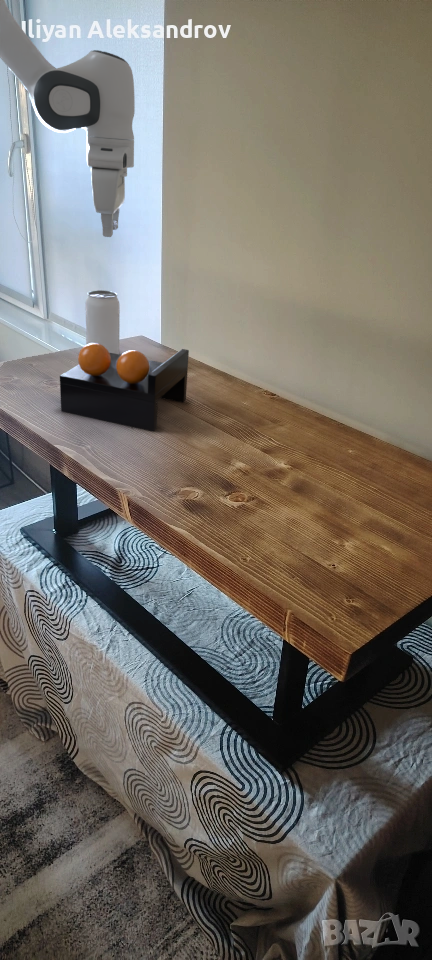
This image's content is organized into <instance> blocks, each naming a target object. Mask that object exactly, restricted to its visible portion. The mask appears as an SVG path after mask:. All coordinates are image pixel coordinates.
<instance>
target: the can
mask: <svg viewBox="0 0 432 960" xmlns="http://www.w3.org/2000/svg"><path fill="white" fill-rule="evenodd" d="M84 303H85V307H84V310H85V345H87V344H90V343H98V344H101V345H102V346H104V347H105V348H106V349H107V350H108V351H109V353H114V354H120V327H121V326H120V325H121V324H120V322H121V321H120V320H121V319H120V317H121V316H120V311H121V310H120V301H119V298H118V293H116V292H115V291H111V290H102V289H101V290H99V289H98V290H90V291H88V292H87V297H86V299H85V302H84Z"/></svg>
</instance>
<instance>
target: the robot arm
mask: <svg viewBox="0 0 432 960" xmlns="http://www.w3.org/2000/svg"><path fill="white" fill-rule="evenodd" d="M33 42H34V41H32V40H31V38H30V37H29V36H28V35H27V33H26V32H25V31H24V30H23V28H22V27H21V25H19V23H18V22H17V20H16V18H15V17H14V16H13V14H12V12H11V11H10V8H9V7H8V4H7V3H6V0H0V59H1V61H2V62H3V63H4V64H5V65H6V67H8V69H9V70H10V71H11V73H12V74H13V75H14V77H16V79H17V80H18V81H19V82H20V83H21V85H22V87H23V88H24V89H25V91H26V92H27V94H28V97H29V99H30V103H31V106H32V108H33V111H34V114H35V115H36V117H37V118H38V120H39V122H40V123H41V124H42V125H43V126H44V127H46V128H47V129H49V130H50V131H53V132H55V133H60V134H66V133H70V132H73V131H74V130H77V129H84V130H85V132H86V133H85V134H86V164H87V167H88V168H90V182H91V191H92V202H93V207H94V211H95V213H97V214H100V220H101V225H102V236H103V237H104V238H111V237H112V236H113V234H114V231H117V230H118V228H119V217H120V208H121V206H123V204H124V203H125V196H126V190H125V188H126V185H125V181H126V180H125V177H128V168H130V169H131V168H134V166H135V134H134V131H133V123H134V122H133V121H134V117H135V111H136V110H135V108H136V107H135V105H136V101H135V99H136V97H135V82H134V74H133V69H132V67H131V66H130V64H129V63H128V61H127V60H125V59H124V58H123V57H121V56H119V55H116V54H114V53H110V52H107V51H102V50H100V49H99V50H98V49H94V50H90V51H89V52H88V53H87V54H85V55H84V56H83V57H81V58H80V59H78V60H75V61H74V62H71V63H69V64H67V65H64V66H60V67H57V68H56V66H54V65H53V64H51V63H50V61H48V60H47V59H46V57H45V55H43V54H42V52H41V51H40V50H39V49H38V47H37V46H36V44H34V43H33Z"/></svg>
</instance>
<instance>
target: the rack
mask: <svg viewBox="0 0 432 960" xmlns="http://www.w3.org/2000/svg"><path fill="white" fill-rule="evenodd" d="M189 354H190V351H189V349H185V348H182V349H180V350H179V351H178V352H176V353H175V354H173V355H172V356H171V357H170V358H168V359H167V360H166V361H164V362H161V361H157V360H151V359H148V358H147V356H145V355H146V354H144V353H143V352H141V351H139V350H135V349H134V350H131V349H130V350H126V351H125V352H123V353H122V354H120V353H119V354H114V353H109V351H108V350H107V349H106V348H105V347H104V346H102V345H101V344H98V343H90V344H87V345H86V344H85V345H84V346H83V347H82V348H81V349H80V351H79V352H78V355H77V356H78V357H77V362H78V364H76V365H75V366H74V367H72V368H70V369H69V370H67V371H65V372H63V373H62V374H60V375H59V391H60V392H59V393H60V395H59V396H60V411H61V412H64V413H68V414H72V415H78V416H81V417H85V418H90V419H95V420H100V421H104V422H108V423H114V424H117V425H123V426H128V427H132V428H135V429H140V430H146V431H150V432H155V431H156V430H157V427H158V400H159V399H162V400H167V401H173V402H178V403H181V404H182V403H185V402H186V401H187V388H188V387H187V385H188V370H189V356H190V355H189Z"/></svg>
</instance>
